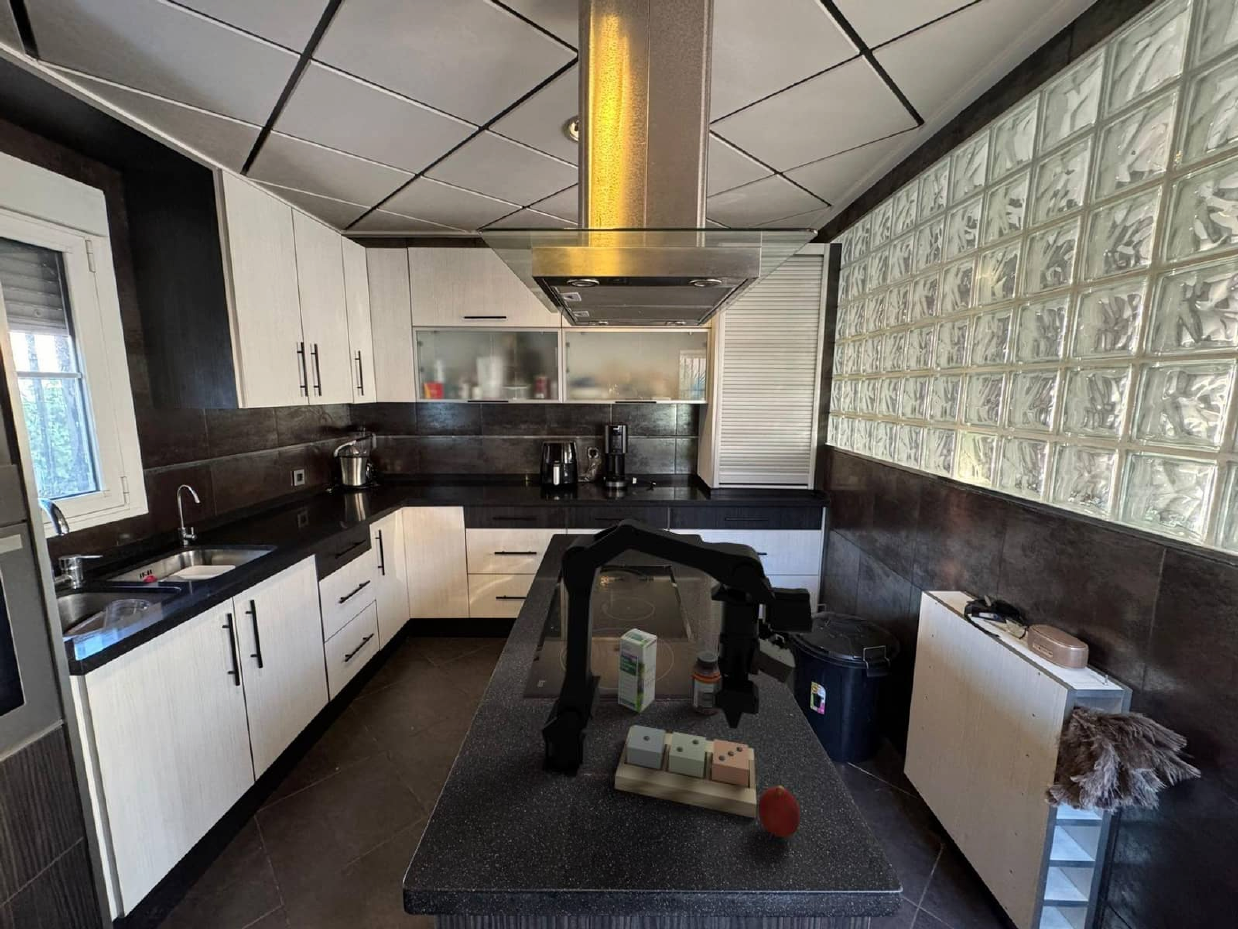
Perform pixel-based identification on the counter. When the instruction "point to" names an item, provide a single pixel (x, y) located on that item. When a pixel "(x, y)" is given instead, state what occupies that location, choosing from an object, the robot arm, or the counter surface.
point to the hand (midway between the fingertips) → (733, 716)
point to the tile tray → (688, 783)
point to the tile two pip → (687, 754)
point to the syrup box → (637, 669)
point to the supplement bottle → (704, 683)
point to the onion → (779, 811)
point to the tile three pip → (730, 763)
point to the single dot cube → (646, 747)
